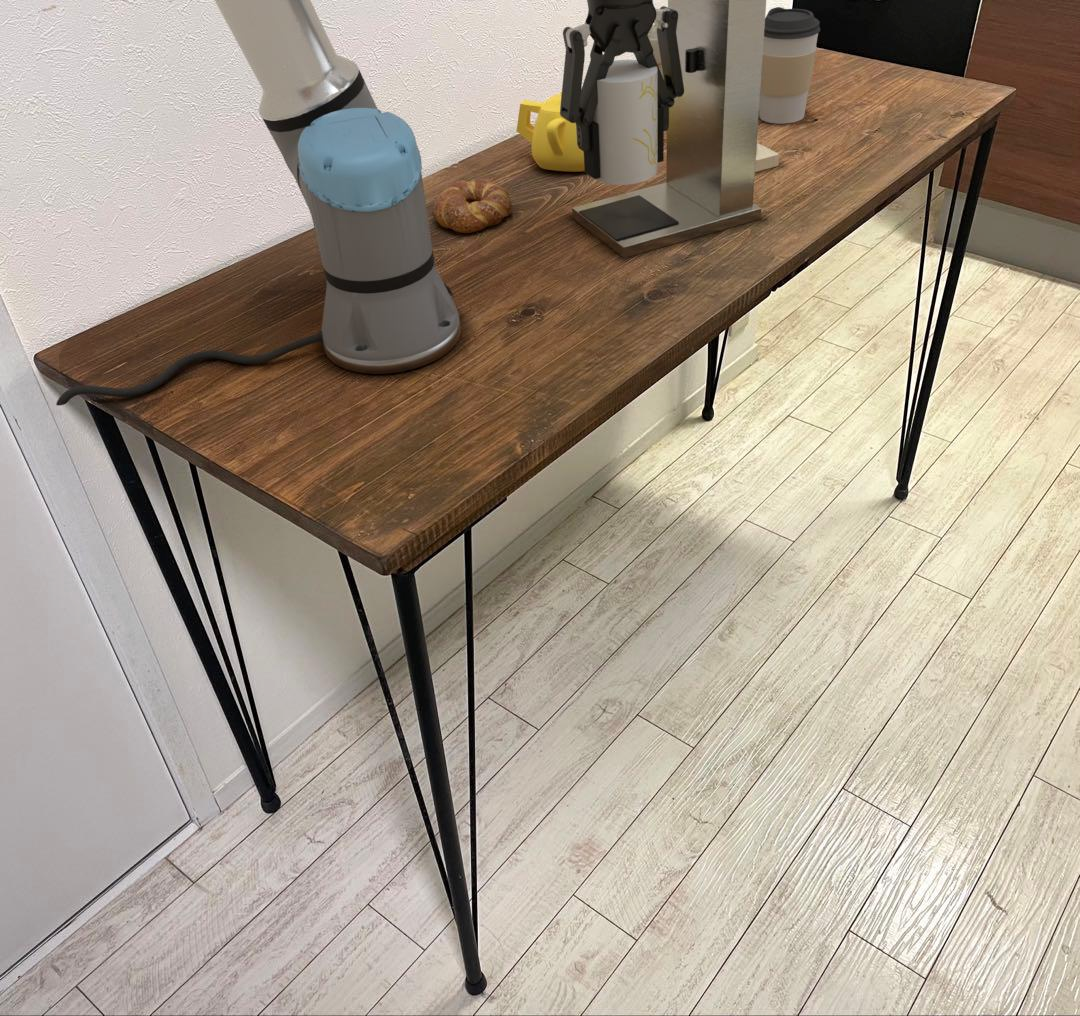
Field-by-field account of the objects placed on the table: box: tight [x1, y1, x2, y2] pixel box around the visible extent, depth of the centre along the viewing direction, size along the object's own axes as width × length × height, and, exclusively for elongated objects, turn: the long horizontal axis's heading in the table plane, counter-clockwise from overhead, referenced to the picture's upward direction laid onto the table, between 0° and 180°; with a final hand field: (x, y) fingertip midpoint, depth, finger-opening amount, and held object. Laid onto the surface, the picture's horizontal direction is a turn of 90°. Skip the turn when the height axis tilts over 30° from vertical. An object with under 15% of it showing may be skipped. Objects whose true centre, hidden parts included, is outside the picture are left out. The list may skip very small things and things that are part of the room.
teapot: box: [516, 78, 585, 173], centre depth 147 cm, size 14×13×10 cm
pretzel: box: [432, 178, 513, 234], centre depth 136 cm, size 12×11×4 cm
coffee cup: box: [759, 6, 821, 125], centre depth 153 cm, size 9×9×15 cm
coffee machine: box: [571, 0, 767, 259], centre depth 123 cm, size 20×14×29 cm
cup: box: [592, 59, 659, 186], centre depth 122 cm, size 8×8×12 cm
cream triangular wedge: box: [755, 140, 780, 173], centre depth 144 cm, size 10×8×4 cm
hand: (624, 166), depth 126 cm, fingers closed on cup, 8 cm apart
